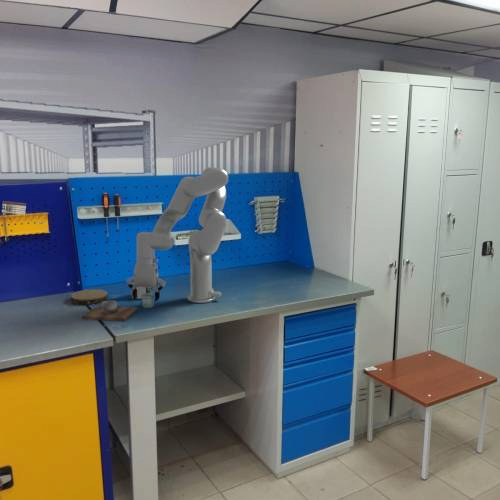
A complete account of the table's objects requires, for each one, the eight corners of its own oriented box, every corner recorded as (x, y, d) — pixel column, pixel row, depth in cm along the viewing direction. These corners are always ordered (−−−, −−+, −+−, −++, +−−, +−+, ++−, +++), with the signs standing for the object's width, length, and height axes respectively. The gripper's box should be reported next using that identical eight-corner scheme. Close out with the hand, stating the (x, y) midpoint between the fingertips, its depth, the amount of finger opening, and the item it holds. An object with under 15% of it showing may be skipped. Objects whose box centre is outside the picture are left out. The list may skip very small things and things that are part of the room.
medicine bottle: (146, 299, 234) (145, 274, 232) (131, 298, 236) (130, 273, 233) (152, 295, 241) (151, 270, 239) (138, 294, 242) (137, 269, 240)
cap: (155, 304, 227) (155, 293, 226) (152, 308, 222) (151, 297, 221) (144, 303, 228) (143, 293, 227) (140, 307, 223) (139, 296, 221)
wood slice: (70, 297, 238) (70, 291, 237) (106, 294, 243) (105, 288, 243) (71, 307, 223) (71, 301, 223) (109, 303, 229) (109, 297, 228)
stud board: (136, 309, 219) (136, 298, 218) (125, 321, 206) (124, 308, 205) (96, 308, 221) (95, 296, 220) (82, 319, 208) (81, 306, 207)
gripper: (167, 260, 223) (167, 298, 227) (129, 258, 225) (129, 295, 228) (162, 264, 216) (162, 303, 219) (123, 261, 218) (123, 300, 221)
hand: (146, 299), depth 224 cm, fingers open, 9 cm apart
